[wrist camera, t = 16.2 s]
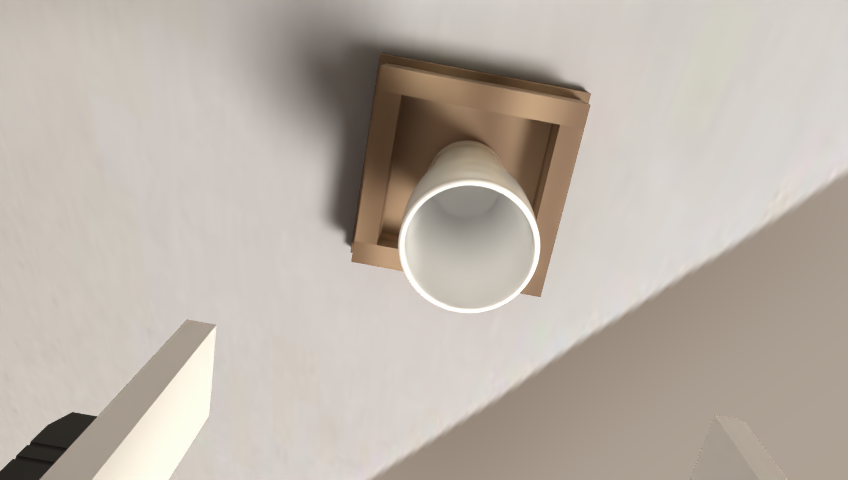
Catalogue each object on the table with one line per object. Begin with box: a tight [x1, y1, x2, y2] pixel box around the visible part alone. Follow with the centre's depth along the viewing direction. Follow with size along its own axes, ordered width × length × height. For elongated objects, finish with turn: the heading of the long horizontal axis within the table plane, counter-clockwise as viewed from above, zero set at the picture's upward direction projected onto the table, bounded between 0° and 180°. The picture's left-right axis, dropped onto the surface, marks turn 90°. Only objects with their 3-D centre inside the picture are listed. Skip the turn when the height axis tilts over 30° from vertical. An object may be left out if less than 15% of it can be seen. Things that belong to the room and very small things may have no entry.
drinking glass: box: [398, 140, 540, 313], centre depth 36 cm, size 7×7×15 cm
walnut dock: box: [351, 53, 591, 297], centre depth 42 cm, size 14×14×4 cm
